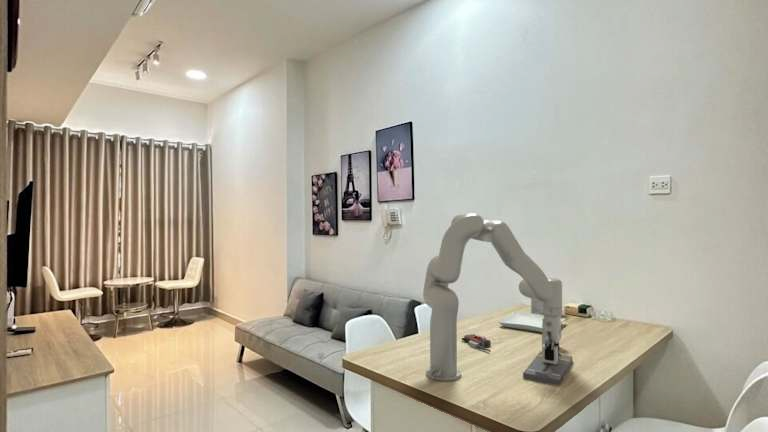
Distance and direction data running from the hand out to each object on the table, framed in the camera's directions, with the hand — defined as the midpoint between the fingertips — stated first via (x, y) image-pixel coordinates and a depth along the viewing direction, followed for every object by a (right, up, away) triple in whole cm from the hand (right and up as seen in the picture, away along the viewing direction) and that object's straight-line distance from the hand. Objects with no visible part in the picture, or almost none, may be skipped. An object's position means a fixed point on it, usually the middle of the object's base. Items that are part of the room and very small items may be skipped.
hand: (551, 356), depth 155 cm
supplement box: (+31, -5, +85) cm, 90 cm away
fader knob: (-2, -1, -2) cm, 3 cm away
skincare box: (+10, -4, +24) cm, 26 cm away
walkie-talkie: (-22, -5, +25) cm, 33 cm away
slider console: (-3, -4, -4) cm, 6 cm away
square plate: (+14, -5, +59) cm, 61 cm away
